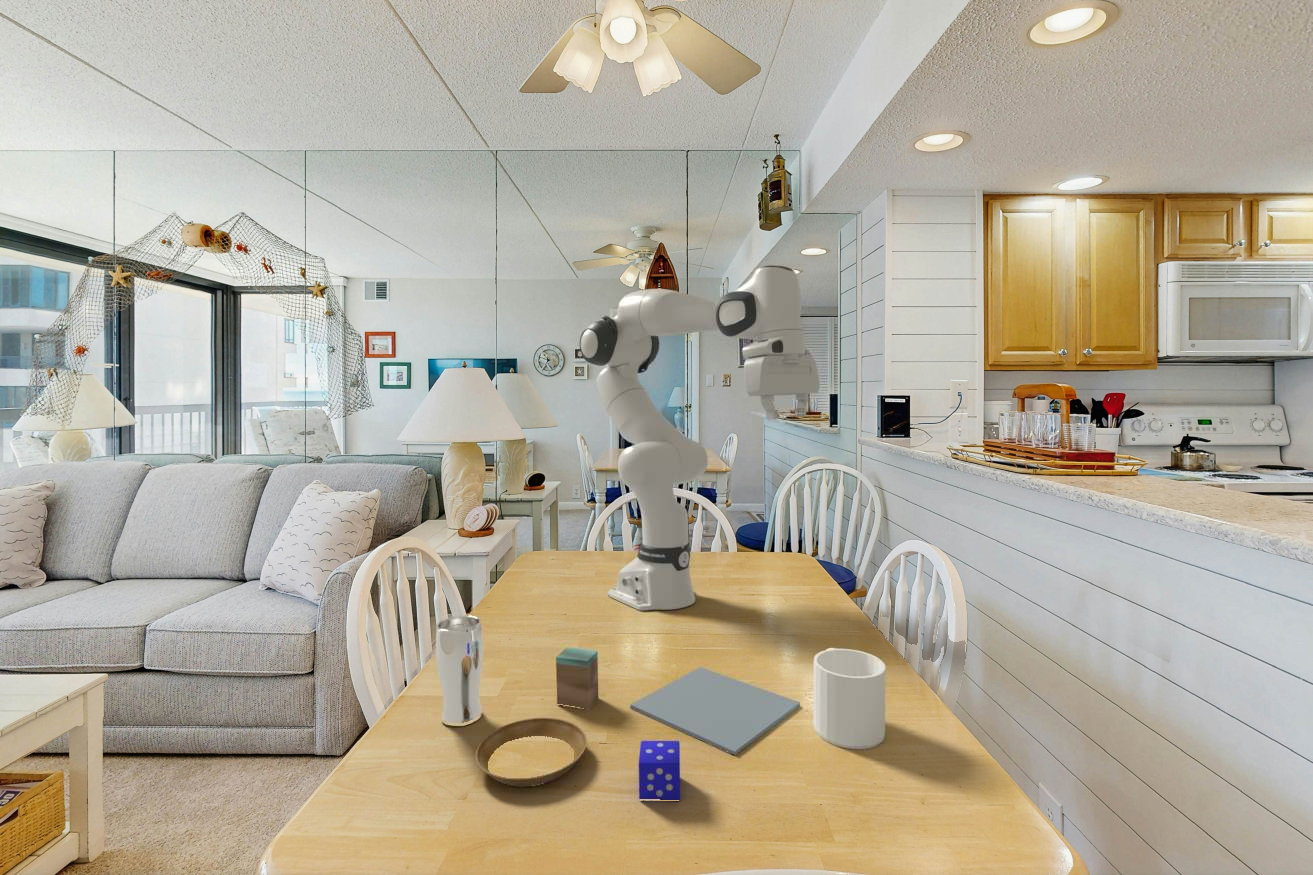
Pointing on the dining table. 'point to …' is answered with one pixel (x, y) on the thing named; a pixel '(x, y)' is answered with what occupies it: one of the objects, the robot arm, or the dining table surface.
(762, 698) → the slate mat
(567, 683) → the green and brown block
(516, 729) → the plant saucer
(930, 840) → the dining table surface
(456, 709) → the silver metal tumbler
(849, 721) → the mug
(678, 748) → the die
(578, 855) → the dining table surface
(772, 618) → the dining table surface
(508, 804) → the dining table surface
